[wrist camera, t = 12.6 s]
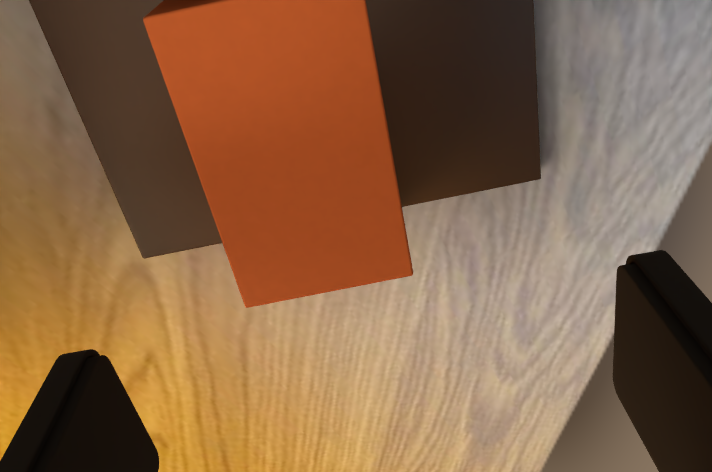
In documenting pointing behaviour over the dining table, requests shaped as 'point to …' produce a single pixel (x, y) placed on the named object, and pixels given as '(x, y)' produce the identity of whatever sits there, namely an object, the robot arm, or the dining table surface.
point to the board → (398, 86)
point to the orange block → (286, 140)
